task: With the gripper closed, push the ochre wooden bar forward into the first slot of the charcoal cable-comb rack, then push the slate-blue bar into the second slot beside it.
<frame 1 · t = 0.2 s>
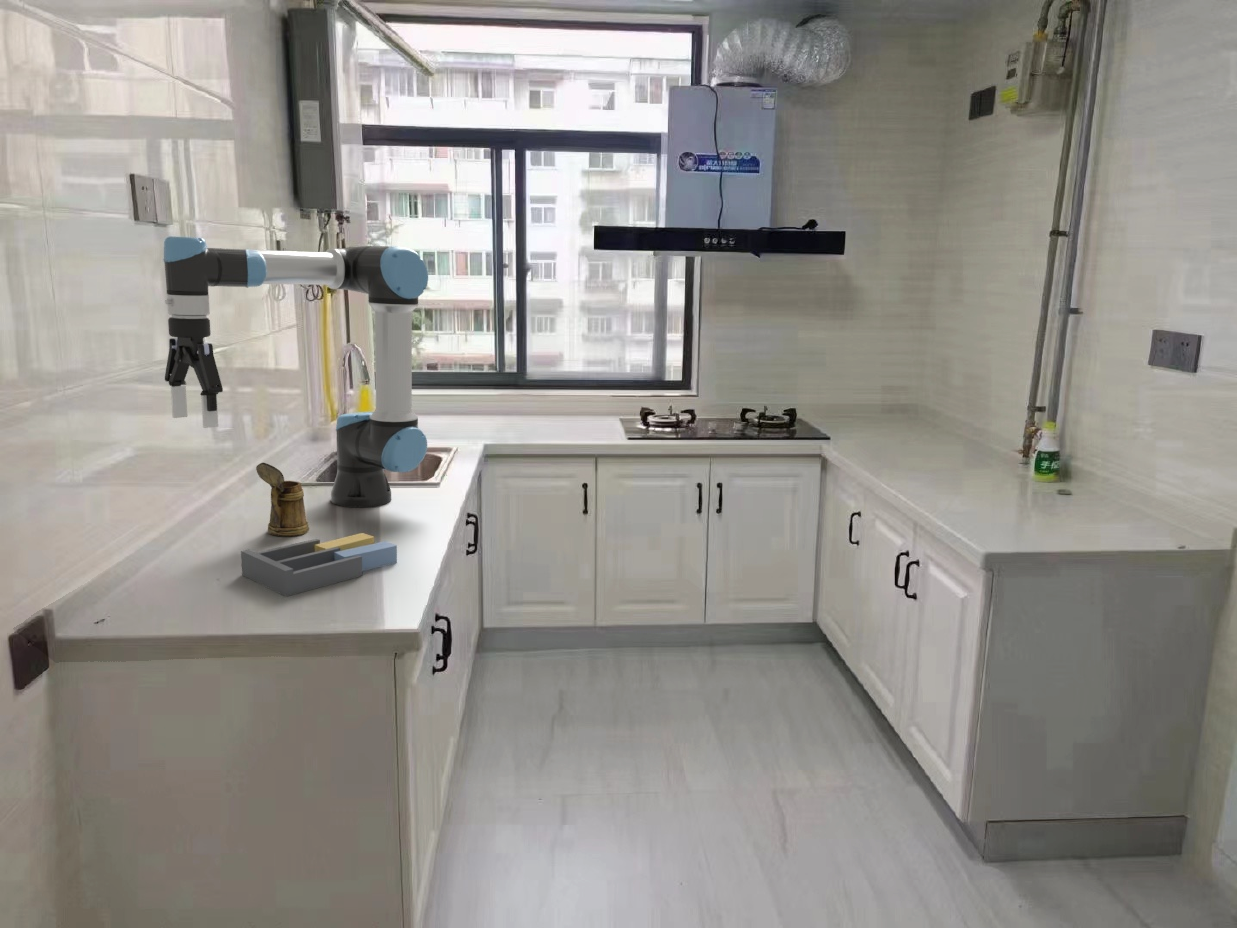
hand: (195, 422, 184), 28 cm above the countertop, fingers open, 13 cm apart
wooden mug: (282, 534, 204), on the countertop
bar ochre: (345, 558, 190), on the countertop
comb rack: (301, 575, 178), on the countertop
bar blue: (366, 567, 186), on the countertop
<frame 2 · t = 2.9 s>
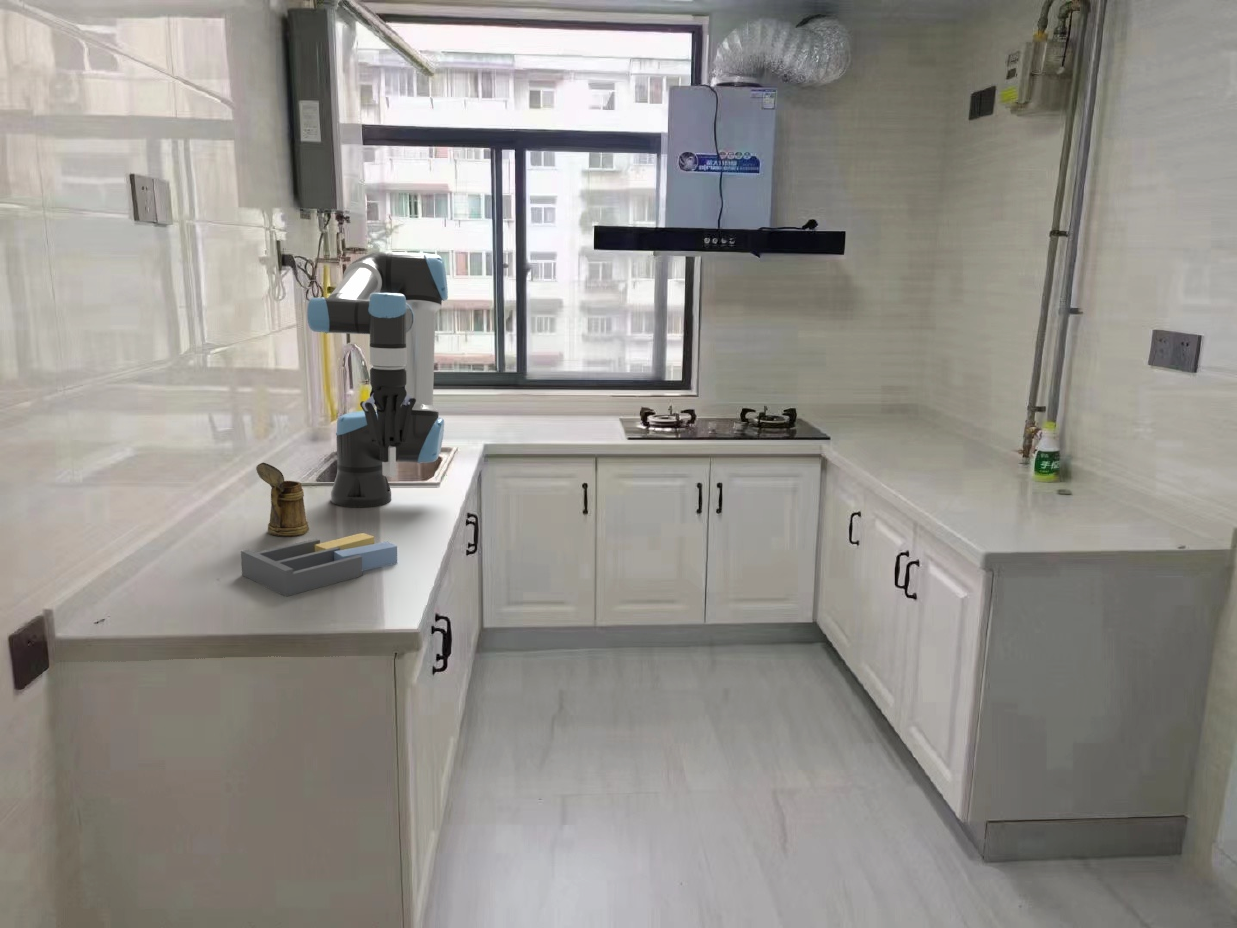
hand: (389, 475, 195), 16 cm above the countertop, fingers closed
nothing on the countertop moved.
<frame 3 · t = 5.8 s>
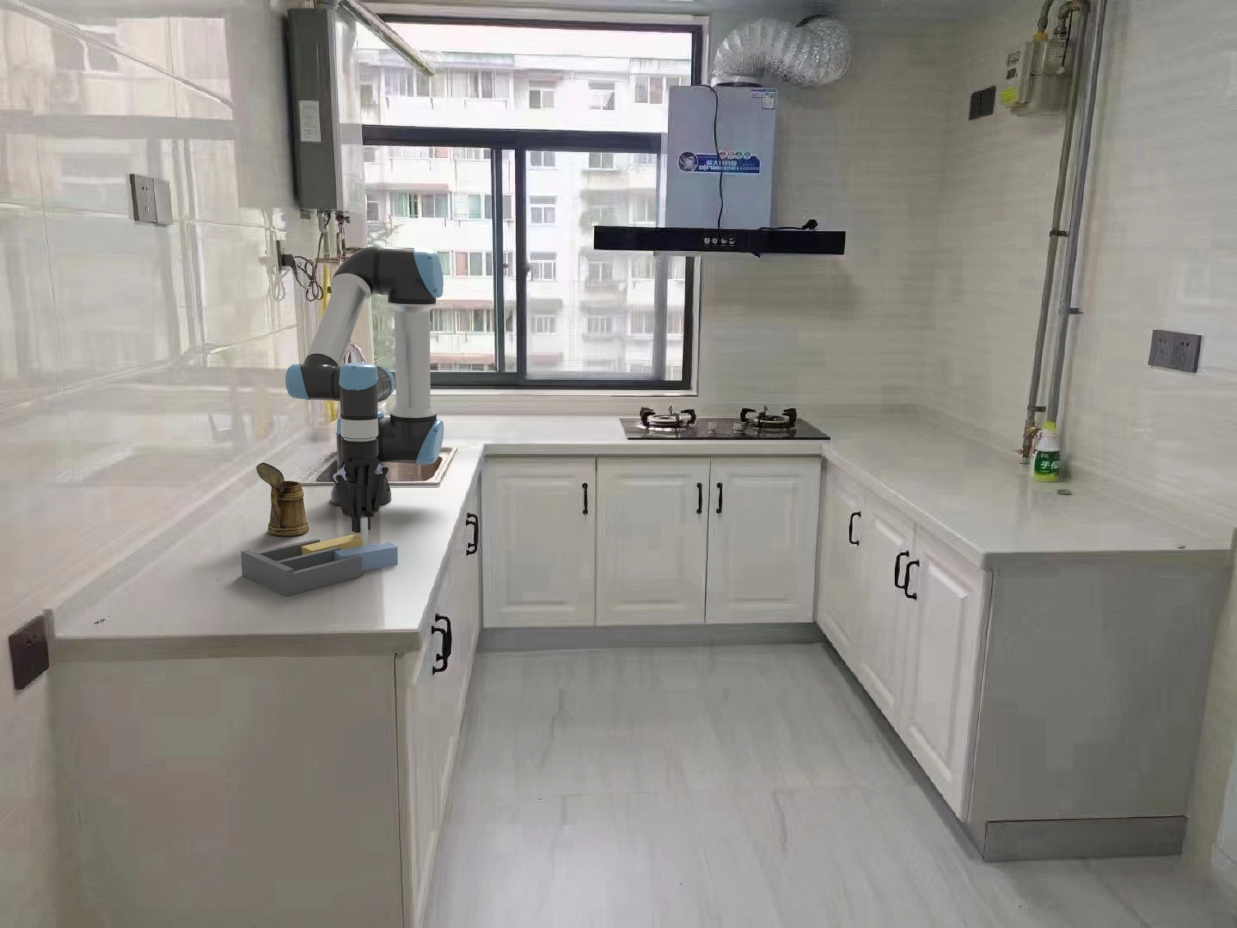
hand: (361, 545, 193), 2 cm above the countertop, fingers closed
bar ochre: (333, 560, 188), on the countertop, touching gripper
everything else where it was.
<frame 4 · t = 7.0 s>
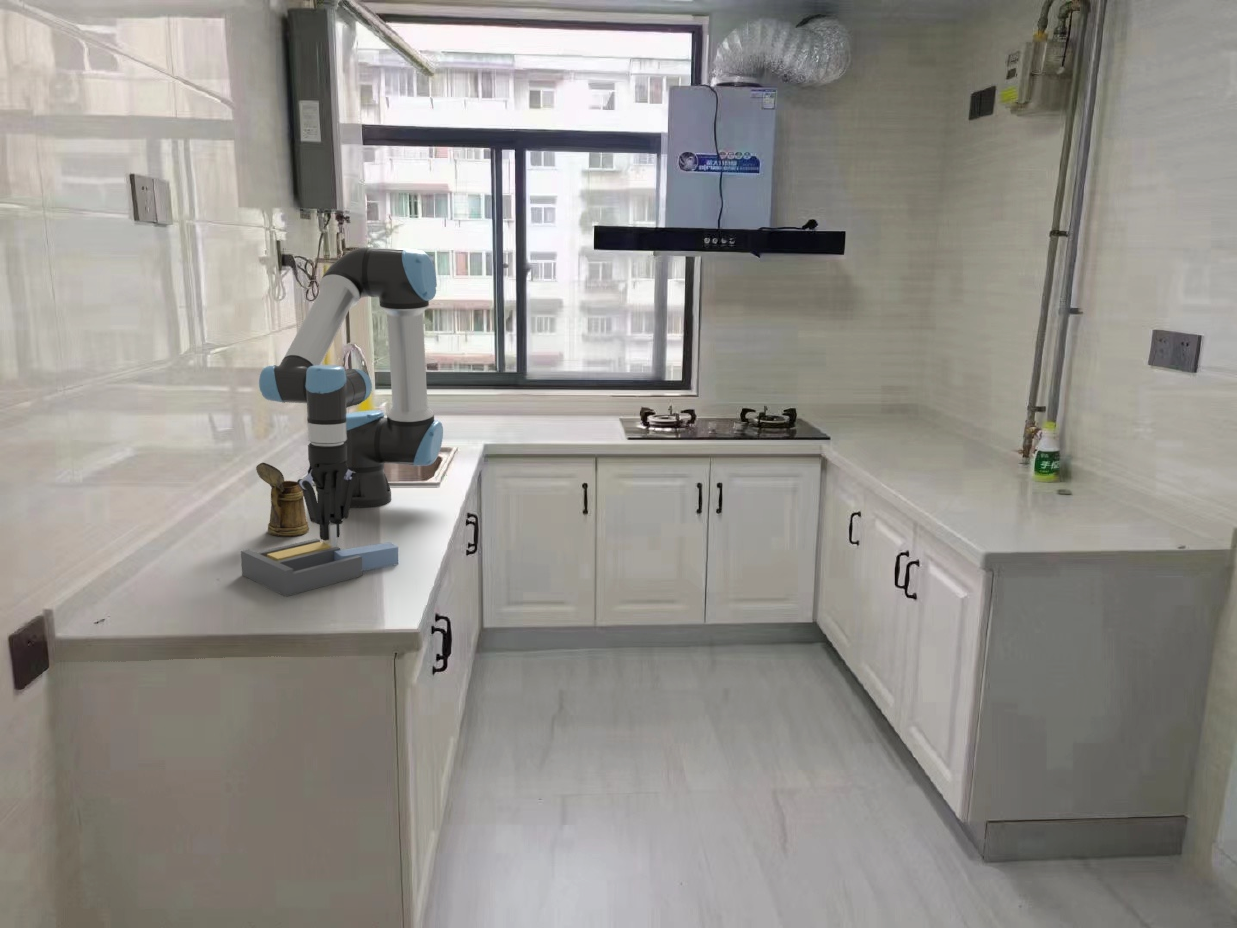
hand: (330, 553, 187), 2 cm above the countertop, fingers closed
bar ochre: (300, 568, 183), resting in comb rack, touching gripper
everything else where it was.
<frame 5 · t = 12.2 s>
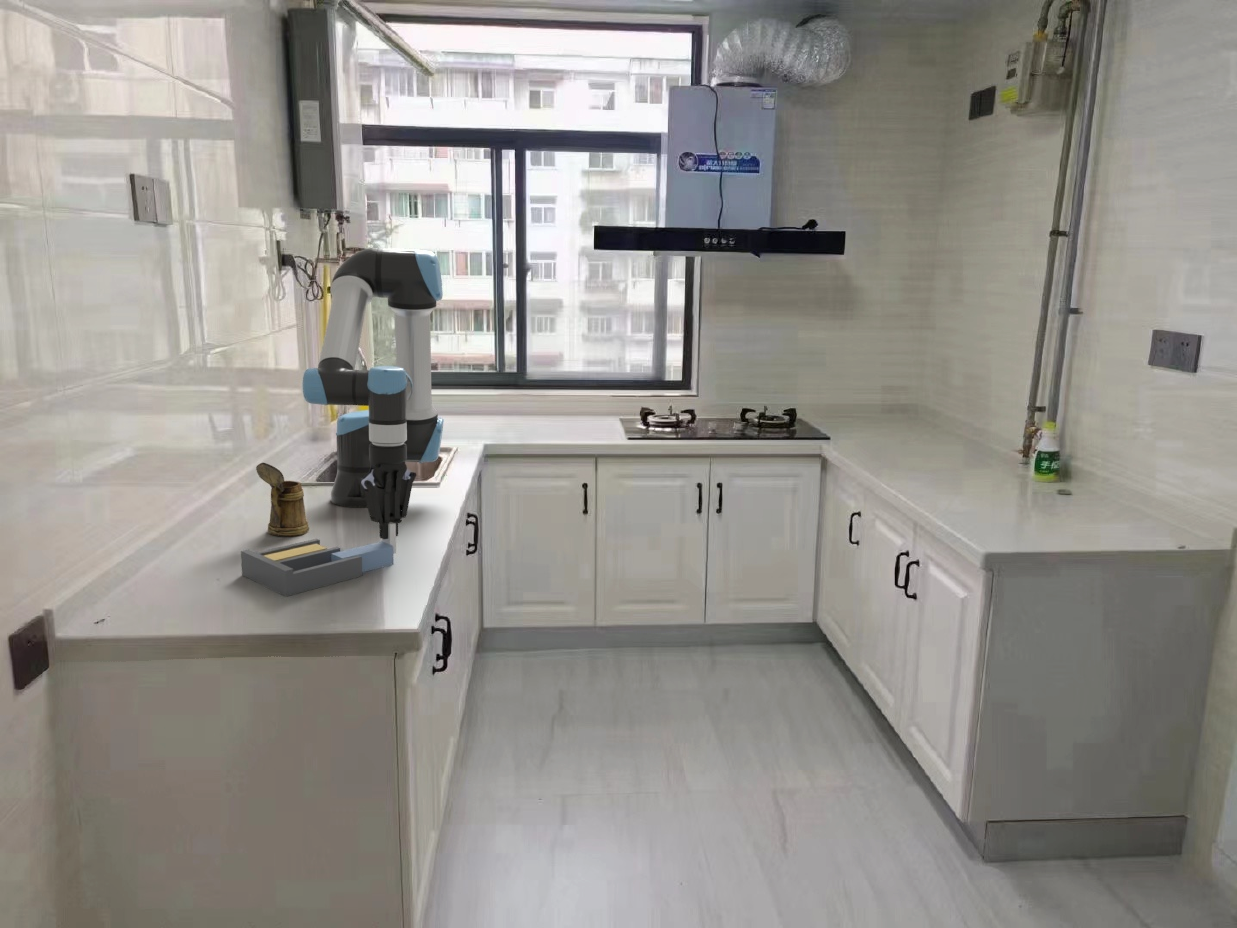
hand: (389, 552, 190), 2 cm above the countertop, fingers closed
bar ochre: (295, 570, 182), resting in comb rack
bar blue: (363, 568, 185), on the countertop, touching gripper
everything else where it was.
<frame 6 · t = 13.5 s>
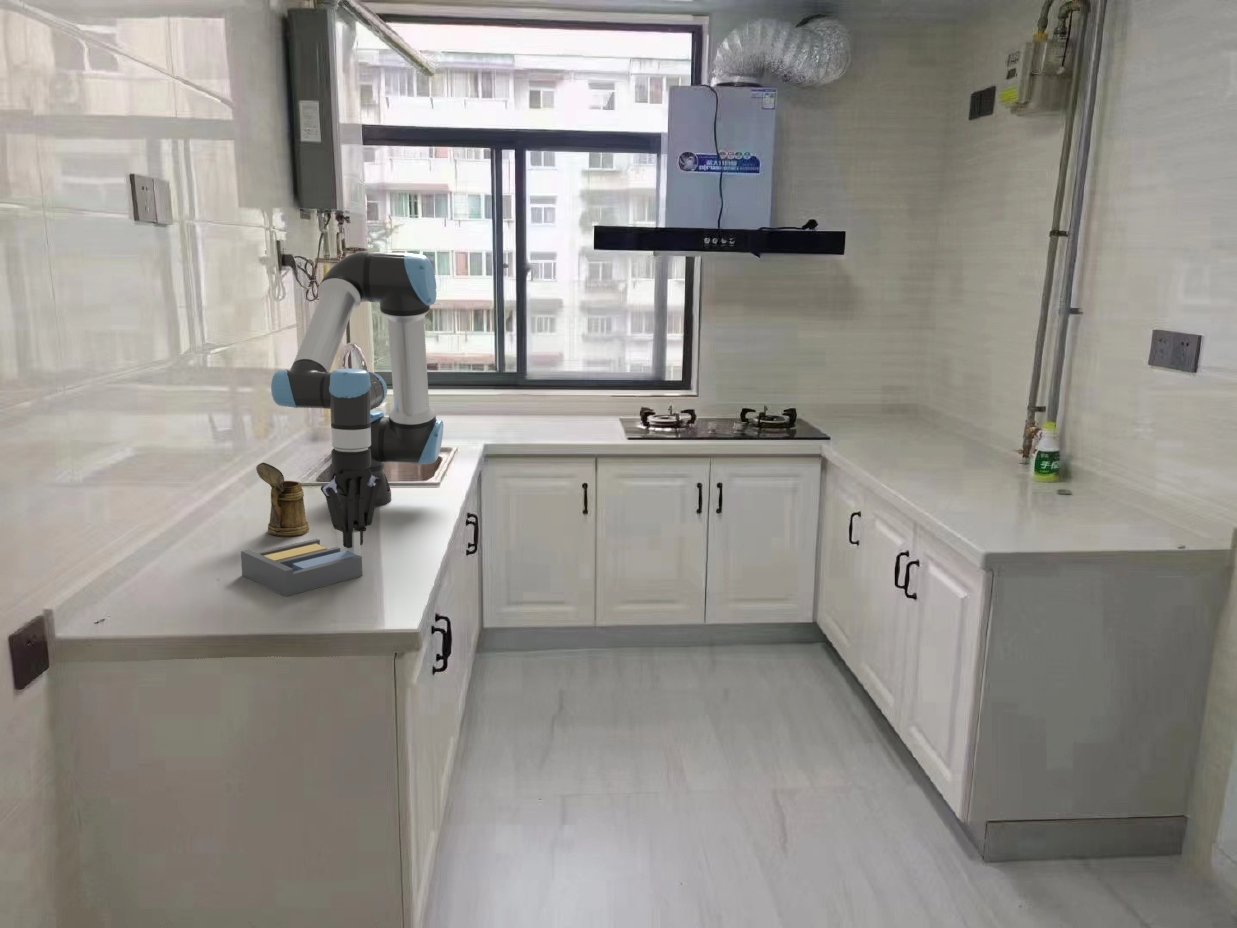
hand: (353, 561, 183), 2 cm above the countertop, fingers closed
bar blue: (326, 578, 178), resting in comb rack
everything else where it was.
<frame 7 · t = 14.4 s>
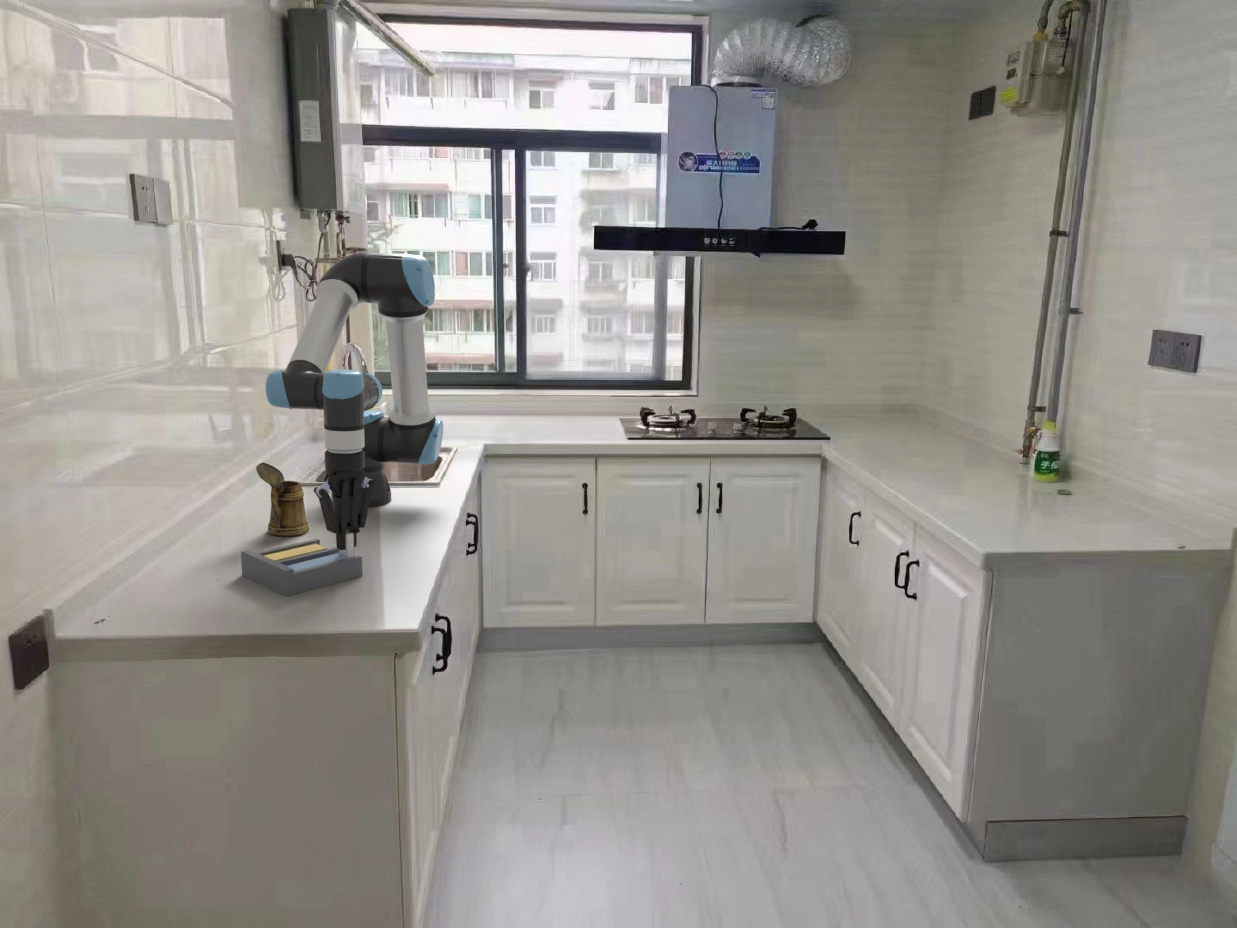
hand: (347, 563, 182), 2 cm above the countertop, fingers closed
bar blue: (318, 581, 177), resting in comb rack
everything else where it was.
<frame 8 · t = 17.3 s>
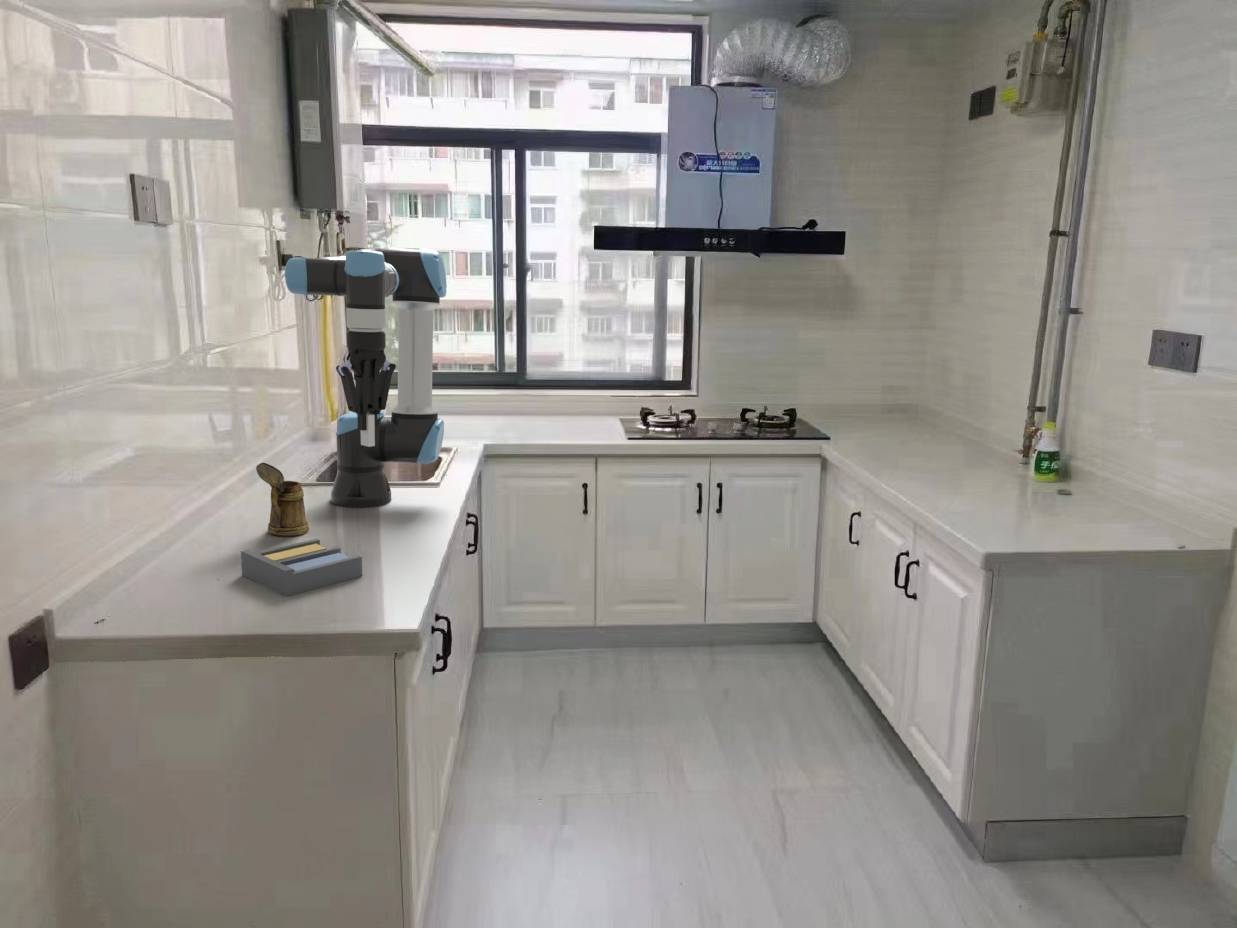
hand: (367, 445, 185), 24 cm above the countertop, fingers closed
nothing on the countertop moved.
at the end: bar ochre 1.5 cm from the target spot, resting in comb rack; bar blue 1.6 cm from the target spot, resting in comb rack; bar ochre tilted 0° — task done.
